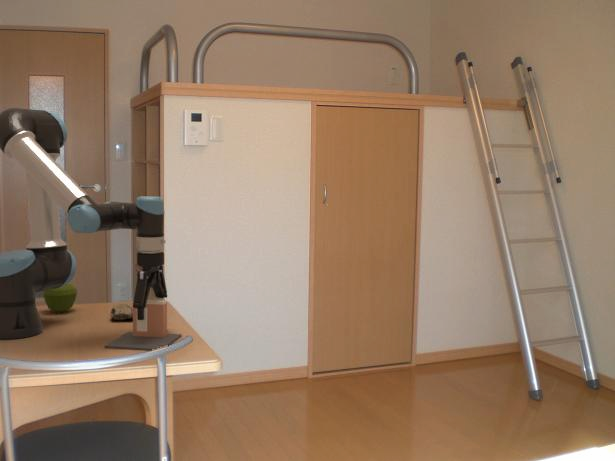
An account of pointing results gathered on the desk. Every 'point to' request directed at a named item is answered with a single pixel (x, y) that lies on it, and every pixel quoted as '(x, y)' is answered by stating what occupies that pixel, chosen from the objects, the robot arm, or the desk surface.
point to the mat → (141, 342)
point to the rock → (122, 312)
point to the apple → (60, 298)
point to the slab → (153, 319)
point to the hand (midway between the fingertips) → (150, 325)
